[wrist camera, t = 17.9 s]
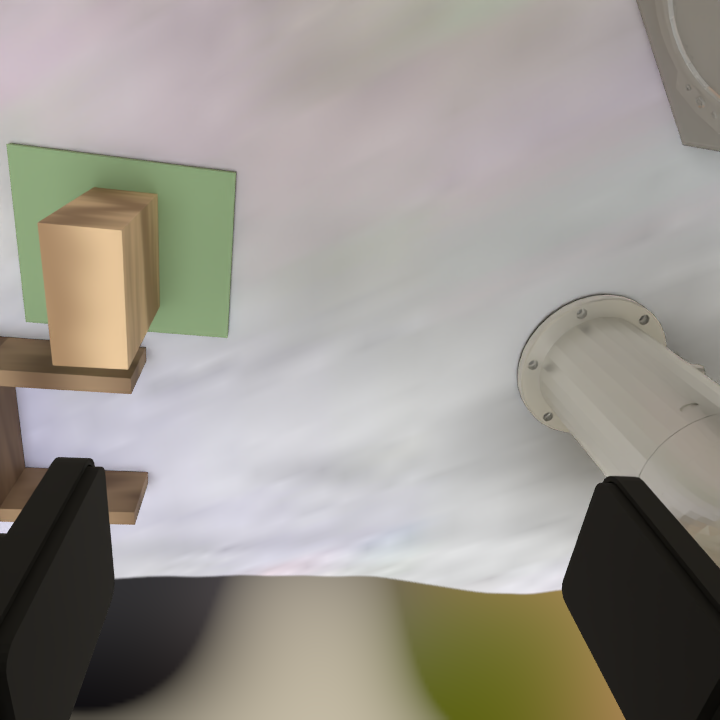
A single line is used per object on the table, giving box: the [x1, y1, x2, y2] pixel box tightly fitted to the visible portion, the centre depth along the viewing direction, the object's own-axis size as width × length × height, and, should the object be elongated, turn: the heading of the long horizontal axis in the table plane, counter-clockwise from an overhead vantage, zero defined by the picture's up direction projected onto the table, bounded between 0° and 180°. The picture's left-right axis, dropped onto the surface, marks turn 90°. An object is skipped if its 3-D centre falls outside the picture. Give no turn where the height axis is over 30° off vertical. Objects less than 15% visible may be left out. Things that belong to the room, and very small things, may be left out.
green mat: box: [6, 143, 236, 338], centre depth 40 cm, size 14×12×1 cm
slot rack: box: [0, 337, 148, 525], centre depth 43 cm, size 11×13×5 cm
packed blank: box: [37, 187, 160, 370], centre depth 36 cm, size 4×8×10 cm, turn 172°
